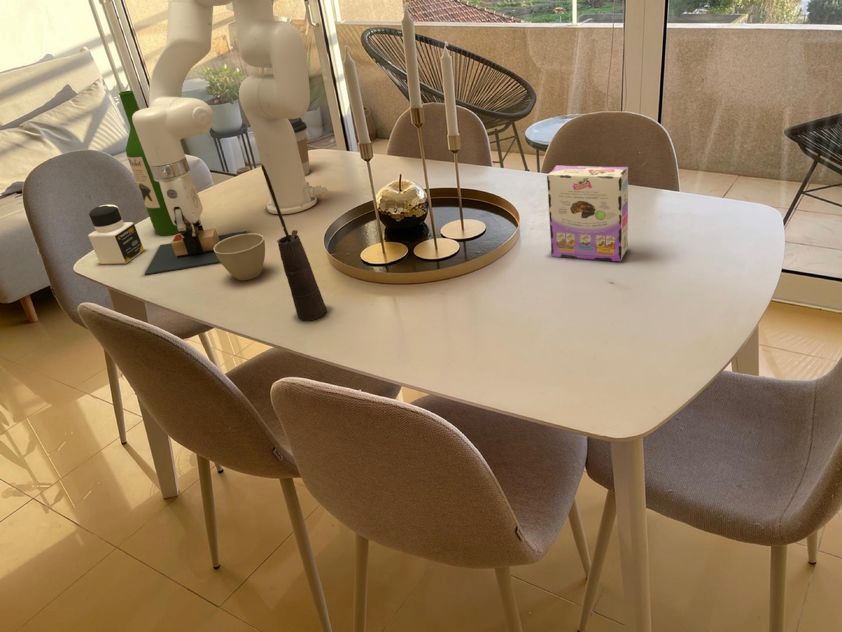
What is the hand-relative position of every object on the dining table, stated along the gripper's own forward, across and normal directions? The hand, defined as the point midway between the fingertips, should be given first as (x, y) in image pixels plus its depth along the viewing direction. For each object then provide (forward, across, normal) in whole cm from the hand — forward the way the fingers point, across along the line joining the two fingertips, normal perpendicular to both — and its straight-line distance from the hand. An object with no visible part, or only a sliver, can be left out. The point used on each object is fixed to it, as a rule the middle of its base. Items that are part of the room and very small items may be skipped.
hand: (197, 247), depth 155 cm
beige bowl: (+1, -17, -13) cm, 21 cm away
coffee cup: (+2, +49, -20) cm, 53 cm away
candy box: (+2, -34, -80) cm, 87 cm away
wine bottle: (+2, +19, +9) cm, 21 cm away
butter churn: (+1, -38, -27) cm, 47 cm away
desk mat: (+1, 0, 0) cm, 1 cm away
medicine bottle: (+1, +5, +18) cm, 19 cm away
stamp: (+1, 0, 0) cm, 1 cm away
